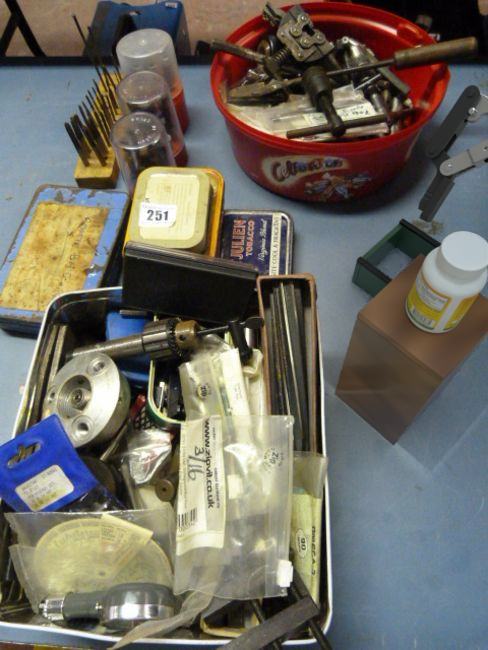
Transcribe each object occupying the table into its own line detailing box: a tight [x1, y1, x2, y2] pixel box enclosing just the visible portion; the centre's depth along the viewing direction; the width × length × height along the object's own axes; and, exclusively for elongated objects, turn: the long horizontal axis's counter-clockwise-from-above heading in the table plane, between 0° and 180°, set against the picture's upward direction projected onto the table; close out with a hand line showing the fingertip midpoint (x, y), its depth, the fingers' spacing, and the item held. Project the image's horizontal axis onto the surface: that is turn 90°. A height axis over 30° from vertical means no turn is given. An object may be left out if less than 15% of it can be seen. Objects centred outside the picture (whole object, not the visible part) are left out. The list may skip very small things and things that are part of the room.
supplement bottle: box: [406, 230, 488, 333], centre depth 45 cm, size 5×5×10 cm
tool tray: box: [351, 217, 442, 298], centre depth 75 cm, size 11×11×6 cm
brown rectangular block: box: [334, 254, 488, 446], centre depth 59 cm, size 10×10×22 cm
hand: (470, 245), depth 42 cm, fingers open, 8 cm apart
